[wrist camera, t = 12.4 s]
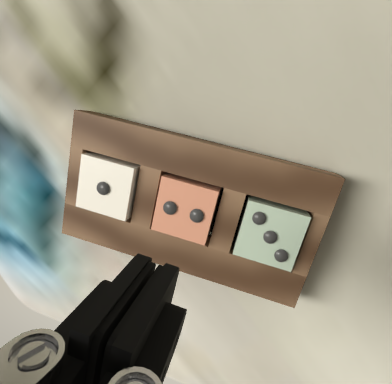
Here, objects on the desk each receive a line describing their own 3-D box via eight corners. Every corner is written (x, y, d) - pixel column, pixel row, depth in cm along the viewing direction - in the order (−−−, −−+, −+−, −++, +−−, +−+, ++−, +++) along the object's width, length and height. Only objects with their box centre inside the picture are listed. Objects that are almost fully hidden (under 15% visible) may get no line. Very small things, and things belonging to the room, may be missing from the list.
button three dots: (249, 191, 25) (248, 200, 22) (304, 206, 25) (311, 218, 22) (234, 240, 27) (232, 255, 24) (286, 255, 26) (291, 272, 23)
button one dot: (99, 150, 27) (80, 154, 24) (147, 163, 26) (133, 168, 23) (93, 198, 29) (74, 206, 26) (138, 211, 28) (124, 221, 25)
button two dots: (171, 170, 26) (161, 176, 23) (222, 184, 25) (218, 192, 22) (161, 218, 28) (150, 229, 25) (209, 232, 27) (204, 246, 24)
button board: (90, 110, 26) (74, 109, 24) (336, 173, 23) (345, 178, 21) (77, 224, 30) (61, 232, 27) (290, 291, 27) (294, 307, 24)
